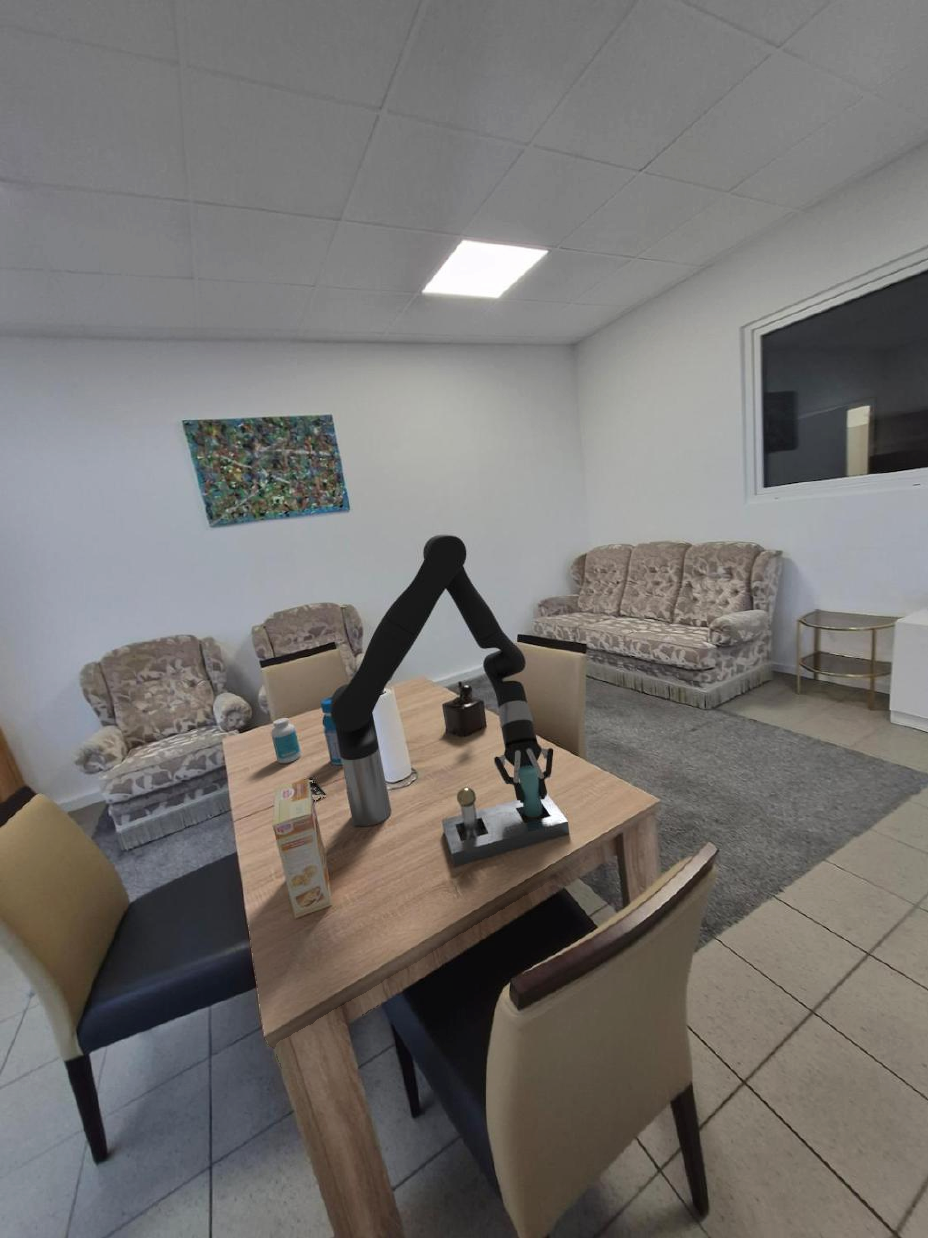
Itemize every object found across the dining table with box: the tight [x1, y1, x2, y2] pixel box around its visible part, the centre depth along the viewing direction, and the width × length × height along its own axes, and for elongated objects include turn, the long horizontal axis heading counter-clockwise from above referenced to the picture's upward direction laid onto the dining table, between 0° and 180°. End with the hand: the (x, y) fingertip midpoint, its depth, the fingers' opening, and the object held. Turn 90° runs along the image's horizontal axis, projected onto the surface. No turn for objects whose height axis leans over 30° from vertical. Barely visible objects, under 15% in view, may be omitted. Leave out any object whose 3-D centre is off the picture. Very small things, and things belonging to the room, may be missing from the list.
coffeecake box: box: [271, 778, 333, 920], centre depth 94 cm, size 15×7×20 cm, turn 20°
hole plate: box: [441, 786, 570, 868], centre depth 102 cm, size 25×12×12 cm, turn 103°
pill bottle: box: [270, 717, 302, 764], centre depth 156 cm, size 8×7×14 cm
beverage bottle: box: [320, 696, 342, 766], centre depth 149 cm, size 8×8×20 cm
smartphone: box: [307, 777, 327, 802], centre depth 134 cm, size 7×1×15 cm
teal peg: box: [518, 765, 543, 818], centre depth 103 cm, size 4×4×10 cm
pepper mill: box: [441, 681, 488, 737], centre depth 157 cm, size 16×11×18 cm
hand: (532, 800), depth 102 cm, fingers closed on teal peg, 4 cm apart
